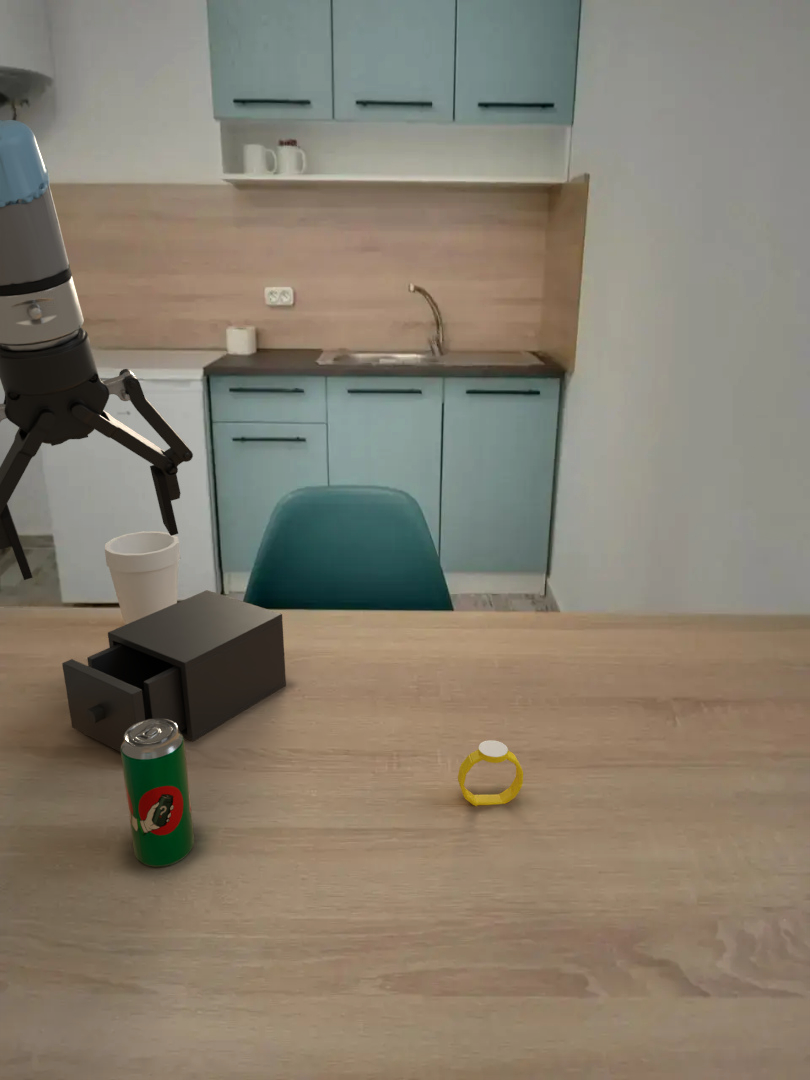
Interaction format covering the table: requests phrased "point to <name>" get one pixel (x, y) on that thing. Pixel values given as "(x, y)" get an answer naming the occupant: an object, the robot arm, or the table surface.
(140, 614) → the foam cup
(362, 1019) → the table surface
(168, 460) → the robot arm
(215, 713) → the cabinet
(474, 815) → the table surface
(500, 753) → the watch
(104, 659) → the drawer
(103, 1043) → the table surface
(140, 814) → the soda can
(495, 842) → the table surface
